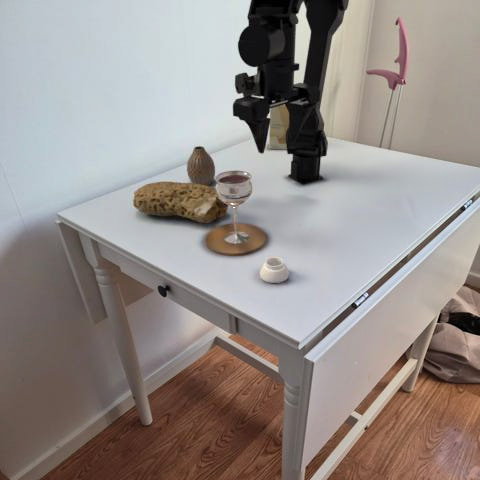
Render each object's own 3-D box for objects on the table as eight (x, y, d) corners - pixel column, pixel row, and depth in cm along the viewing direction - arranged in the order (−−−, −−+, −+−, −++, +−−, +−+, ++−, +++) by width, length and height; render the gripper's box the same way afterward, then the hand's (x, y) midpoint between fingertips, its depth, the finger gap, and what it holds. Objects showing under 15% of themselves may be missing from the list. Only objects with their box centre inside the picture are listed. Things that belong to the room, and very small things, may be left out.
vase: (217, 178, 109) (215, 142, 103) (214, 188, 103) (211, 152, 98) (191, 178, 109) (187, 143, 104) (186, 189, 104) (181, 152, 98)
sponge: (233, 216, 94) (166, 181, 100) (234, 187, 88) (161, 152, 94) (196, 250, 88) (127, 211, 94) (193, 222, 81) (119, 182, 88)
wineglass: (213, 234, 84) (208, 175, 77) (243, 225, 87) (241, 167, 79) (228, 249, 80) (224, 187, 72) (259, 239, 82) (259, 179, 74)
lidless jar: (273, 265, 76) (253, 277, 73) (273, 251, 74) (253, 262, 71) (294, 275, 73) (275, 288, 70) (295, 261, 71) (275, 273, 68)
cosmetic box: (268, 149, 124) (268, 104, 116) (270, 144, 127) (270, 100, 120) (290, 149, 123) (292, 103, 115) (291, 145, 126) (293, 100, 119)
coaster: (247, 220, 90) (247, 218, 89) (277, 244, 81) (277, 242, 81) (195, 235, 86) (195, 233, 85) (222, 262, 77) (222, 259, 77)
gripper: (280, 47, 85) (279, 129, 95) (210, 61, 76) (216, 150, 86) (325, 52, 79) (318, 139, 89) (253, 67, 69) (255, 163, 79)
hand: (277, 147), depth 86 cm, fingers open, 9 cm apart
